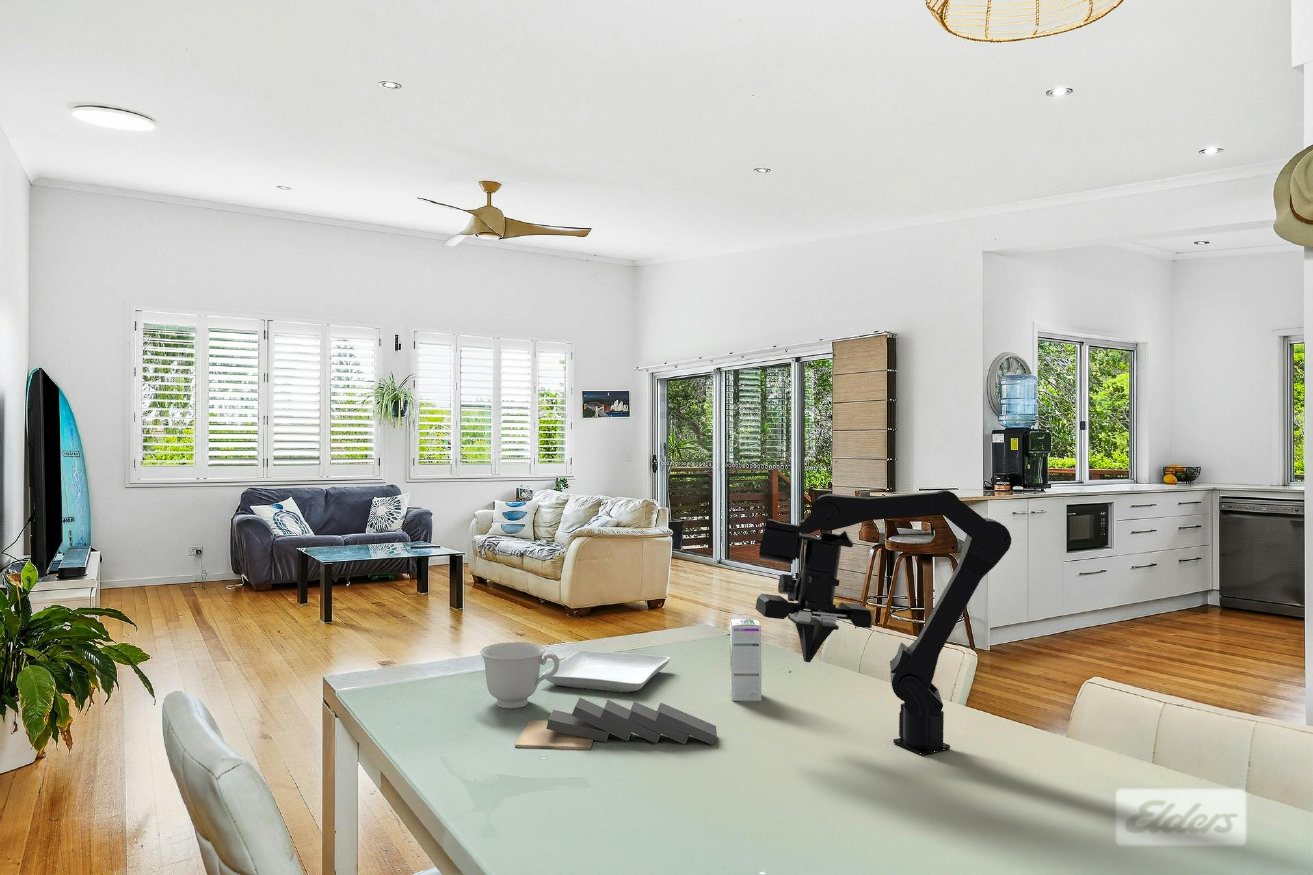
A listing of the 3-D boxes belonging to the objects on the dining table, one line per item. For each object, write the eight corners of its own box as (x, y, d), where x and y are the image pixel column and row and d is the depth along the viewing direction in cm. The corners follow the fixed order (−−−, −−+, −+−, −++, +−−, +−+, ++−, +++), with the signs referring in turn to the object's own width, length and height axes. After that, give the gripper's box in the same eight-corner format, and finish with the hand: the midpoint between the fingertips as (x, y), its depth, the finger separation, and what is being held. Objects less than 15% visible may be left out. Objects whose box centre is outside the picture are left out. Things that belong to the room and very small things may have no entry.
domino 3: (662, 724, 141) (607, 699, 142) (660, 734, 136) (604, 708, 137) (658, 733, 141) (604, 708, 142) (656, 743, 136) (600, 717, 137)
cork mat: (599, 724, 145) (599, 722, 145) (590, 749, 133) (590, 746, 133) (530, 722, 146) (530, 719, 146) (514, 747, 134) (515, 744, 134)
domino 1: (611, 722, 141) (553, 709, 142) (608, 732, 136) (548, 719, 137) (609, 731, 141) (551, 718, 142) (606, 742, 136) (546, 728, 137)
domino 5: (716, 725, 141) (660, 702, 141) (716, 736, 136) (659, 711, 136) (712, 734, 141) (656, 711, 141) (713, 745, 136) (655, 720, 136)
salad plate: (539, 689, 166) (539, 672, 166) (579, 663, 187) (579, 648, 187) (641, 700, 160) (641, 682, 160) (671, 672, 181) (672, 656, 181)
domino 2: (634, 721, 141) (579, 697, 142) (631, 731, 136) (575, 706, 137) (630, 730, 141) (575, 705, 142) (627, 740, 136) (571, 715, 137)
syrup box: (762, 701, 159) (763, 624, 159) (730, 701, 159) (731, 624, 159) (759, 693, 165) (759, 618, 165) (728, 692, 165) (729, 618, 165)
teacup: (547, 717, 148) (548, 660, 148) (468, 711, 151) (469, 655, 151) (568, 697, 160) (569, 644, 160) (494, 692, 163) (495, 640, 163)
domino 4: (689, 725, 141) (634, 701, 141) (688, 735, 136) (631, 710, 136) (685, 733, 141) (630, 709, 141) (685, 744, 136) (627, 719, 136)
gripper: (853, 565, 150) (840, 652, 150) (753, 554, 147) (740, 642, 147) (880, 579, 139) (866, 672, 139) (772, 566, 136) (758, 662, 136)
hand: (806, 661), depth 141 cm, fingers closed
